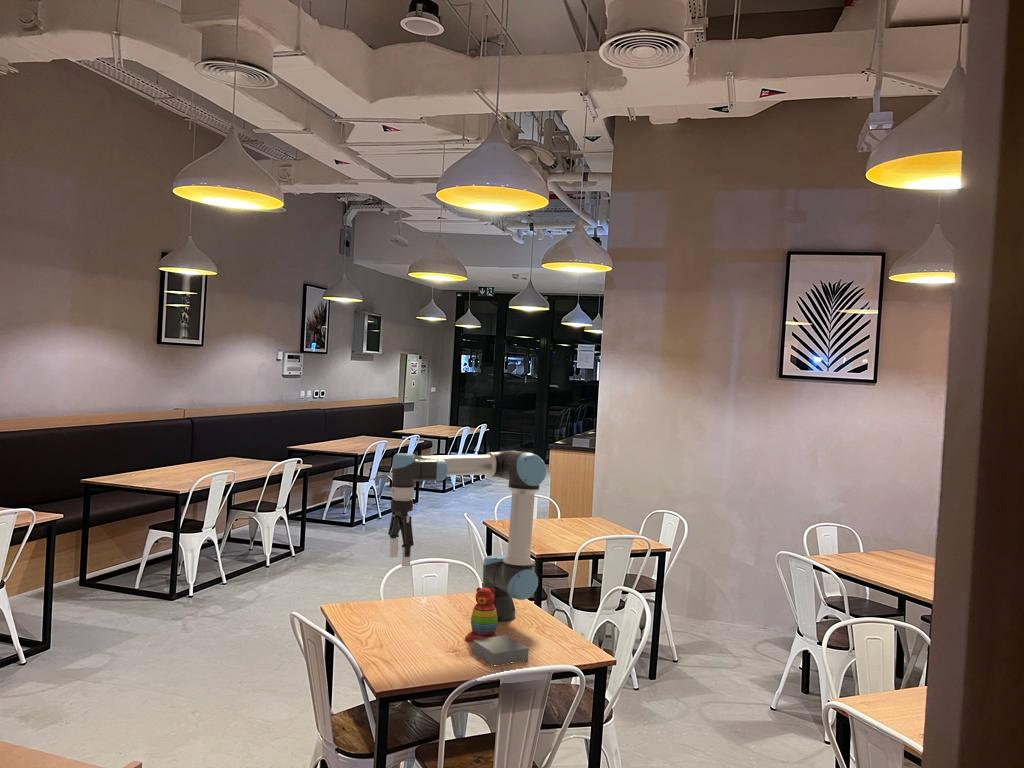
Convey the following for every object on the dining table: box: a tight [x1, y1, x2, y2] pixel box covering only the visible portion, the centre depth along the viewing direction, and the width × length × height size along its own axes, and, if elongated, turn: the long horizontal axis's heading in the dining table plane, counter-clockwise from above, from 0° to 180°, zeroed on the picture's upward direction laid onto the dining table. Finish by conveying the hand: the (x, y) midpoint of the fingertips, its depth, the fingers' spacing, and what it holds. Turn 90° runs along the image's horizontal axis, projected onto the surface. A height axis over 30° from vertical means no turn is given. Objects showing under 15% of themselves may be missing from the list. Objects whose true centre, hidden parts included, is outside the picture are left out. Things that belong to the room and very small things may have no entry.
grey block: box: [472, 634, 530, 667], centre depth 237 cm, size 13×14×4 cm
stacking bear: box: [464, 587, 499, 643], centre depth 254 cm, size 11×10×18 cm
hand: (399, 561), depth 246 cm, fingers open, 13 cm apart
